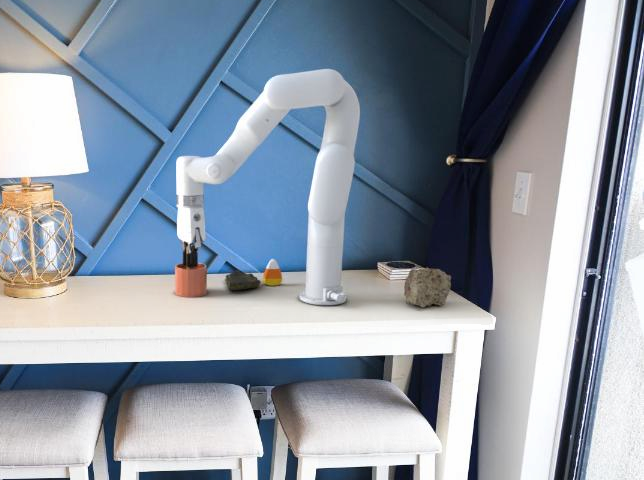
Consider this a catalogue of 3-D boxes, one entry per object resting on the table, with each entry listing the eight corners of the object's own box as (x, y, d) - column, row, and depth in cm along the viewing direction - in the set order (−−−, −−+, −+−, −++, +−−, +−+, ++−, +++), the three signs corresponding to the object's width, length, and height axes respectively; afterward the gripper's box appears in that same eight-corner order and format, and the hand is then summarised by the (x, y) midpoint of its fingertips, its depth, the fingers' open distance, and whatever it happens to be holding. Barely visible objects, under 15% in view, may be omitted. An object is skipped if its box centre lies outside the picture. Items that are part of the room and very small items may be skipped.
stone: (219, 272, 199) (249, 266, 200) (221, 285, 200) (252, 280, 201) (230, 282, 181) (264, 275, 182) (232, 296, 181) (266, 290, 182)
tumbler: (211, 294, 181) (211, 267, 179) (182, 298, 178) (182, 270, 176) (198, 287, 189) (198, 261, 187) (170, 291, 186) (170, 264, 184)
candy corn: (281, 283, 193) (282, 257, 192) (283, 285, 191) (283, 259, 189) (261, 283, 193) (262, 258, 191) (263, 286, 190) (263, 260, 188)
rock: (397, 275, 177) (412, 263, 167) (441, 278, 177) (458, 266, 168) (399, 313, 173) (415, 303, 164) (444, 316, 174) (462, 306, 165)
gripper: (214, 203, 171) (214, 270, 176) (190, 197, 185) (190, 259, 190) (189, 205, 168) (189, 273, 173) (166, 198, 182) (167, 261, 187)
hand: (190, 265), depth 181 cm, fingers closed
